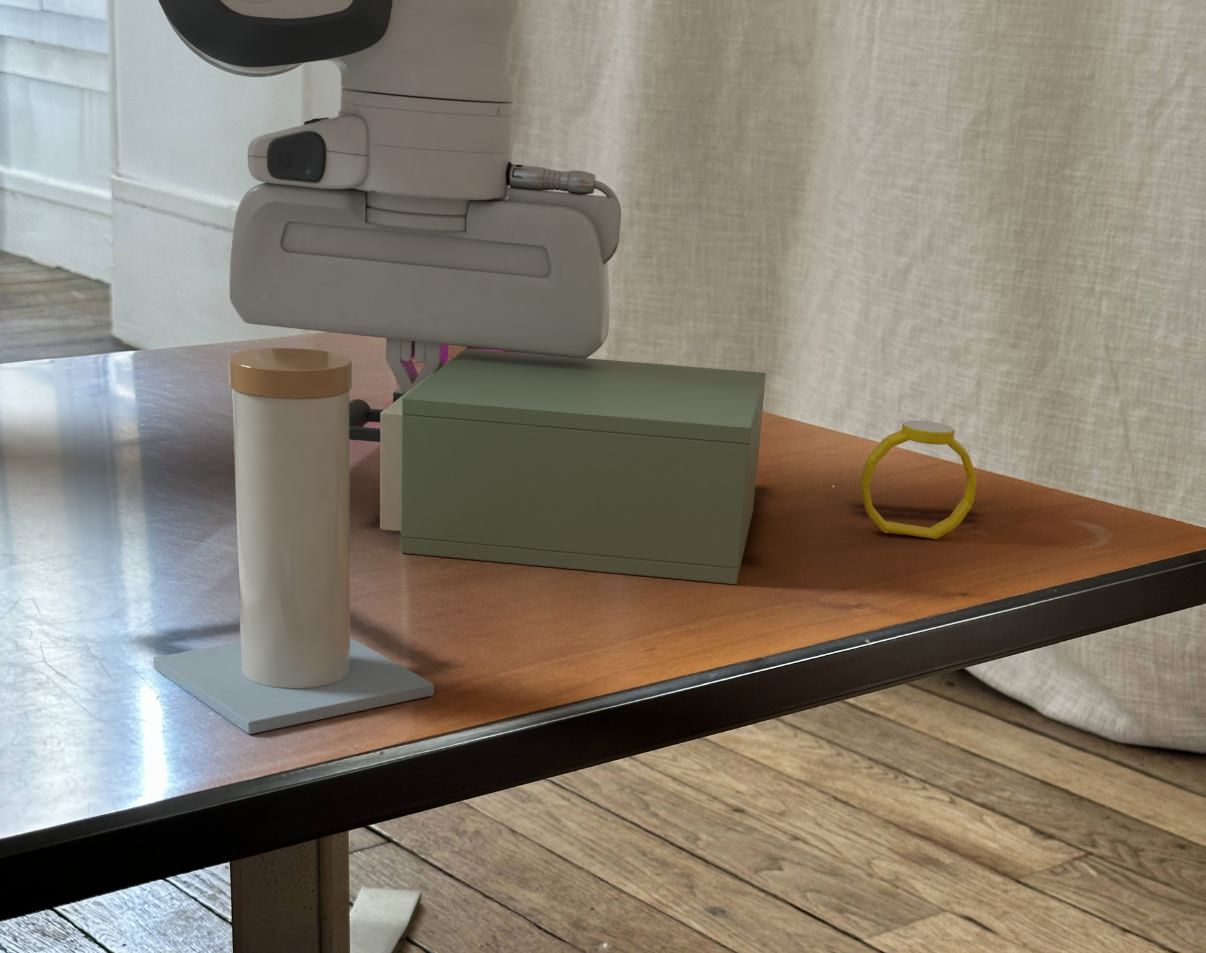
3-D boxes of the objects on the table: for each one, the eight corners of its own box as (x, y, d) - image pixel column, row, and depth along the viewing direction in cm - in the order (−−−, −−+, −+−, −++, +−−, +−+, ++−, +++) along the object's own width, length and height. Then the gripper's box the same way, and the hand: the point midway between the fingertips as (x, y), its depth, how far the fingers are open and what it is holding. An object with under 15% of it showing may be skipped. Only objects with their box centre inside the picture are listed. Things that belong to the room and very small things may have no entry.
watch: (857, 537, 91) (871, 426, 89) (853, 524, 94) (866, 415, 92) (969, 545, 91) (986, 434, 89) (962, 531, 94) (978, 423, 91)
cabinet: (400, 552, 84) (401, 397, 81) (462, 483, 97) (465, 347, 94) (736, 584, 82) (751, 427, 79) (753, 510, 96) (766, 372, 92)
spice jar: (223, 683, 65) (211, 364, 60) (259, 646, 69) (251, 344, 64) (335, 695, 65) (332, 374, 60) (365, 657, 69) (365, 353, 64)
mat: (248, 735, 62) (248, 722, 62) (153, 668, 68) (152, 656, 67) (434, 695, 67) (434, 683, 66) (330, 636, 72) (330, 625, 72)
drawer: (295, 522, 85) (293, 404, 82) (365, 462, 97) (365, 358, 94) (691, 558, 83) (701, 439, 80) (712, 493, 95) (721, 387, 92)
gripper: (632, 171, 90) (610, 432, 96) (257, 135, 92) (257, 394, 98) (616, 178, 84) (594, 456, 90) (217, 140, 86) (220, 414, 92)
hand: (416, 423), depth 94 cm, fingers closed, pressing on drawer
